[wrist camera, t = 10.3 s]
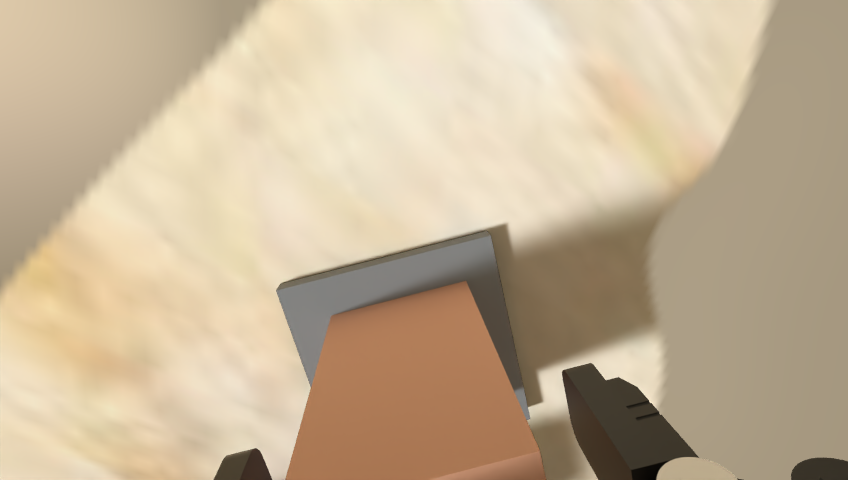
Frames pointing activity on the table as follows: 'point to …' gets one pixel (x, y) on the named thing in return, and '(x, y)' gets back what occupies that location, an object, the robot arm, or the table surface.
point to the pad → (402, 295)
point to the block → (413, 398)
